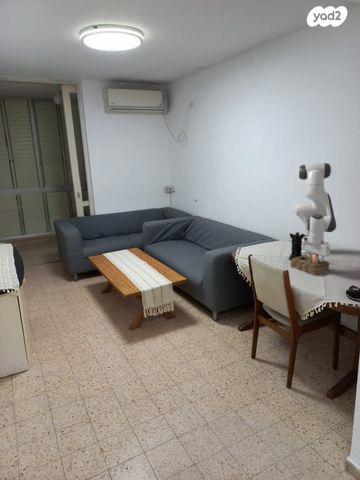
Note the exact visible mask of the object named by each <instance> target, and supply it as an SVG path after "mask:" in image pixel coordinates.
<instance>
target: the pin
mask: <svg viewBox="0 0 360 480" xmlns="http://www.w3.org/2000/svg"><path fill="white" fill-rule="evenodd" d="M319 256H320V255H319V254H315V253H313V254H312V257H313V264H318V259H319V258H320V257H319Z"/></svg>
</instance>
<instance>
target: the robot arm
mask: <svg viewBox="0 0 360 480" xmlns="http://www.w3.org/2000/svg"><path fill="white" fill-rule="evenodd" d="M332 170H333V169H332V166H331V164H330V163H326V162H324V163H320V162H316V163H308V164H302V165H301V164H300V166H299V167H298V169H297V176H298V179H300V180H302V181H305V182H304V196H305V197H306V198H307V199H308V200H311V201H312V202H299V203H297V204H295V206H294V214H295V215H296V216H297V217H298V218H299V219H300V220H301V222H302V225H303V234H304V237H303V239H302V248H301V255H308V256H309V258H312V257H313V253H315V254H319V256H320V257H319V258H318V259H319V261H321V262H322V261H323V260H324V258H325V257H329V256H331V246H330V244H329V242H327V241H324V239H325V234H324V233H332V232H334V231H335V230H336V229H337V221H336V218H335V213H334V207H333V202H332V199H331V196H330V194H329V193H328V192H326V190H325V179H328V178H330V176H331V174H332Z"/></svg>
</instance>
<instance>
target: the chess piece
mask: <svg viewBox="0 0 360 480" xmlns="http://www.w3.org/2000/svg"><path fill="white" fill-rule="evenodd" d="M289 237H290V238H289V239H291V241H290V242H291V254H289V256H288V259H287V260H289V261H291V258H295V257H299V256H303V255H304V254H302V253H301V248H302V239H303V237H304V233H301V234H300V232H297V231H296V232H295V234H293V233H292V232H291V233H289Z"/></svg>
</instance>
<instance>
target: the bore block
mask: <svg viewBox="0 0 360 480" xmlns="http://www.w3.org/2000/svg"><path fill="white" fill-rule="evenodd" d="M302 255H303V256H299V257H295V258H291V260H290V267H291V268H293V269H296V270H298V271H300V272H301V271H302V272H304V273H306V274H308V275H313V276H315V275H319V274H321V273H325V272H329V271H330V270H329V268H330V262H329V261H326V260H324V259H323V261H322V262H321V261H319V259H320V258H318V264H313V256H312V258H309V255H308V254H302Z"/></svg>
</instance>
